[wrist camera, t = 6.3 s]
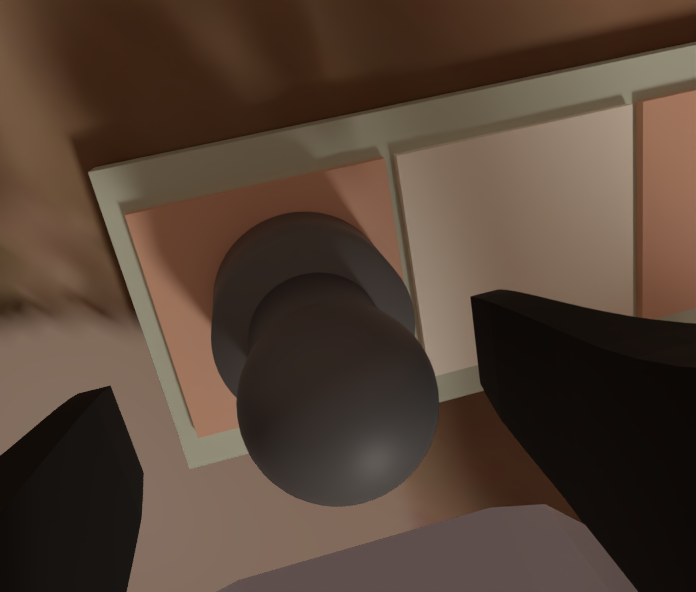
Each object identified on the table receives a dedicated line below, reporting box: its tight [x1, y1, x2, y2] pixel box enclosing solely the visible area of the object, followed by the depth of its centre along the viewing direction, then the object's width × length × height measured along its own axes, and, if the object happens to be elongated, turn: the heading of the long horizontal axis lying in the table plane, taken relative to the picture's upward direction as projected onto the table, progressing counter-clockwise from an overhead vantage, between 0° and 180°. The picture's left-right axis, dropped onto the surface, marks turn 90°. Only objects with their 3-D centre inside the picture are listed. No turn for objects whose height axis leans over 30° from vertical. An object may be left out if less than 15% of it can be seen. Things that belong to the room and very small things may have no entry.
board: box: [88, 42, 696, 469], centre depth 18 cm, size 9×28×1 cm, turn 100°
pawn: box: [211, 212, 439, 507], centre depth 13 cm, size 5×5×7 cm
